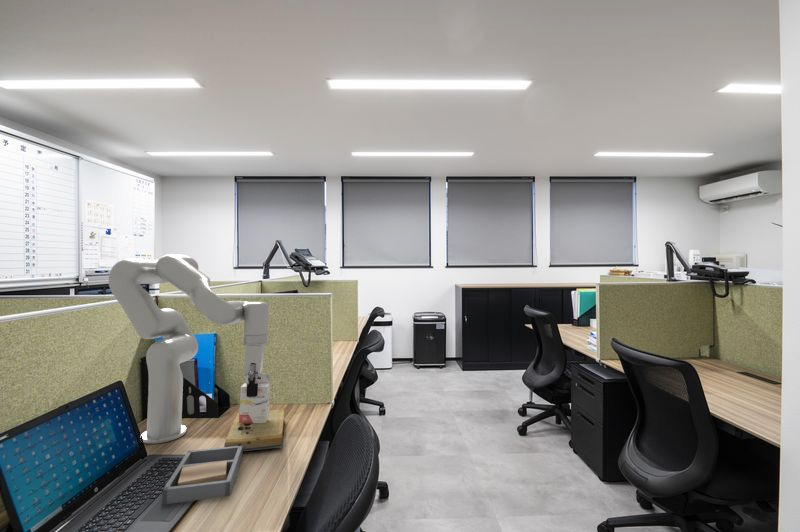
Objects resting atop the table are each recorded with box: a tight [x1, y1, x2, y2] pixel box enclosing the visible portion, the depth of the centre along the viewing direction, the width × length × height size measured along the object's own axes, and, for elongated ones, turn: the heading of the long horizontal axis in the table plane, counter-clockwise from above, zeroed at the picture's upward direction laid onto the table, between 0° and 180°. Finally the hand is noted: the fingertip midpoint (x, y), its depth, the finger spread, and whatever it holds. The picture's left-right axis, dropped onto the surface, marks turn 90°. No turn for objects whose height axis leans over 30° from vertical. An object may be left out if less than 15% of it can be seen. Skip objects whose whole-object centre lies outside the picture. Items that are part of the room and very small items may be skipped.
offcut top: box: [178, 460, 227, 486], centre depth 88 cm, size 7×10×2 cm
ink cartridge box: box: [238, 373, 271, 423], centre depth 118 cm, size 9×5×15 cm, turn 97°
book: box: [223, 407, 286, 453], centre depth 117 cm, size 25×17×6 cm
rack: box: [161, 445, 243, 506], centre depth 92 cm, size 19×14×4 cm
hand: (253, 391), depth 117 cm, fingers open, 9 cm apart
